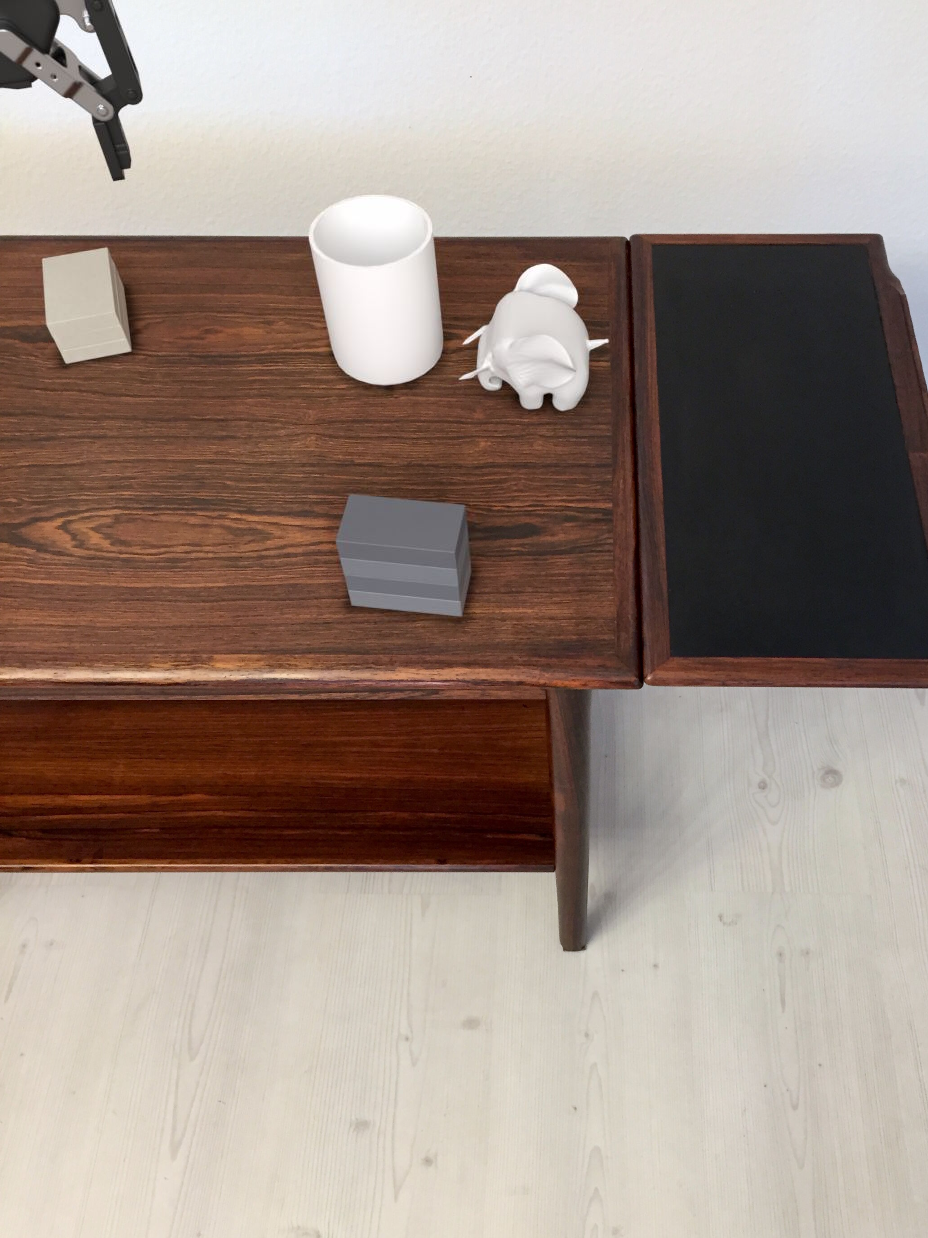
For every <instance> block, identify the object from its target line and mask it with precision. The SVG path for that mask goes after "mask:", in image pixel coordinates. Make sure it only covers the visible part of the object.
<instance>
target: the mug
mask: <svg viewBox="0 0 928 1238" xmlns="http://www.w3.org/2000/svg"><path fill="white" fill-rule="evenodd" d="M433 229H434V228H433V223H432V219H431V218H430V216H429V214H428V213H427V212H426V210H424V209H423V208H422V207H420V205H418V204H416V203H415V202H412V201H410V200H409V199H407V198H403V197H399V196H395V195H389V194H377V193H376V194H375V193H374V194H362V195H356V196H352V197H349V198H348V197H347V198H345V199H342V200H340V201H338V202H335V203H332V204H330V205H329V206H327V207H326V208H325V209H324V210H321V211H320V213H319V214H318V215H317V216H316V217H315V218H314V219H313V220H312V223H311V225H310V227H309V229H308V243H309V247H310V250H311V256H312V260H313V265H314V270H315V276H316V280H317V284H318V289H319V294H320V299H321V304H322V309H323V314H324V318H325V322H326V328H327V332H328V337H329V342H330V346H331V350H332V353H333V356H334V358H335V360H336V363H337V365H338V367H339V368H340V369H341V370H342V371H343V372H344V373H345V374H346V375H349V377H351V378H353V379H355V380H357V381H360V382H364V383H366V384H371V385H376V386H394V385H395V386H396V385H402V384H404V383H409V382H411V381H415V380H416V379H418V378H419V377H422V376H423V375H425V374H426V373H427V372H429V371H430V370H432V368H433V367H435V366H436V365H437V363H438V361H439V360H440V359H441V355H442V353H443V349H444V333H443V322H442V321H443V319H442V312H441V311H442V310H441V301H440V291H439V281H438V270H437V261H436V249H435V241H434V240H435V239H434V231H433Z"/></svg>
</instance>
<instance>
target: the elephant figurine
mask: <svg viewBox="0 0 928 1238" xmlns="http://www.w3.org/2000/svg"><path fill="white" fill-rule="evenodd" d="M578 301H579V295H578V291H577V289H576V286H575V285H574V283H573V282H572V280H571V279H570V278H569V277H568V275H567V274H566V273H565V272H563V271H562V270H561V269H559V268H558V267H556V266H554V265H552V264H549V263H539V264H536V265H533V266H531V267H529V268H527V269H526V270H525V271H524V272H522V274H521V275H520V277H519V278H518V279H517V283H516V284H515V287H514V289H513V291H510V292H508V293H506V294H505V295H504V296H503V297H502V298H501V299H500V300H499V301H498V303H497V305H496V307H495V310H494V313H493V316H492V318H491V320H490V321H489V323H488V324H486V325H485V324H484V325H483V326H481V327H480V328H479V329H478V330H477V331H476V332H474V333H473V334H471V335H470V336H469V337H467V338H466V339H465V340H464V342H463V343H462V344H461V345H468V344H469V343H471V342H472V341H474V340H476V339H477V338H478V337H479V340H478V343H477V344H478V345H477V347H478V348H477V354H476V355H477V357H476V369H475V370H473V371H471V372H468V373H466V374H463V375H462V376H461V377H459V378H458V381H459V380H460V381H461V380H466V379H467V380H468V379H472V378H474V377H475V376H477V380H478V381H479V383H480V385H481V386H482V388H484V389H485V390H486V391H498V390H500V389H501V388H502V386H503V381H504V382H506V383H507V384H509V385H510V386H511V387H512V388H513V390H514V391H516V393H517V394H518V396H519V402H520V405H521V406H522V408H524V409H527V410H536V409H537V410H538V409H541V407H542V406H543V403H544V395H546V394H552V400H551V402H552V405H553V407H554V408H555V409H556V410H558V411H561V412H565V411H569V410H572V409H574V408H576V407H577V405H578V403H579V402H580V401H581V399H582V397H583V396H584V395H585V392H586V389H587V387H588V383H589V378H590V351H591V350H594V349H596V348H598V347H601V346H602V345H604V344H608V343H609V342H610V340H609V338H605V339H601V338H599V339H590V337H589V332H588V329H587V327H586V324H585V322H584V321H583V320H582V318H581V317H580V315H579V314H578V313H577V312H576V311H575V309H574V308H575V307H576V306H577V303H578Z"/></svg>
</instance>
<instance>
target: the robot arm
mask: <svg viewBox="0 0 928 1238" xmlns="http://www.w3.org/2000/svg"><path fill="white" fill-rule="evenodd" d="M61 16H68V17H70V18H71V19H73V20H74V22H75V23H76V24H77V25H78V27H79V29H81V31H83V32H85V33H89V34H94V33H95V34H96V37H97V39H98V42H99V45H100V47H101V50H102V52H103V55H104V57H105V59H106V60H105V61H106V62H107V65H108V67H109V70H110V72H111V74H109V75H107V76H104V78H102V77H100V76H99V75H98V74H97V73H95V72H94V71H93V70H92V69H90V68H89V67H88V66H87V65H85V64H84V63H83V62H82V61H80V59H79V58H78V56H77V55H76V54H75V52H73V51H72V50H71V49H70V48H69V47H68V46H66V45H65V44H64V43H63V42H62V41H60V40H59V39H58V38H56V36H57V35H56V34H57V31H58V28H59V25H60V22H61ZM38 80H40V81H41V82H43V83H44V84H45V85H46V86H48V87H49V88H50V89H51V90H53V91H54V92H56V93H57V94H58V95H59V96H60V97H62V98H64V99H70V100H71V101H73V102H74V103H75V104H77V105H78V106H79V107H80V108H81V109H83V110H85V112H87V113H88V114H89V115H90V116H91V123H92V126H93V129H94V132H95V134H96V138H97V140H98V143H99V146H100V150H101V151H102V154H103V158H104V161H105V163H106V165H107V168H108V171H109V174H110V177H111V180H112V182H118V181H124V180H126V175H125V170H129V169H131V168H132V156H131V150H130V145H129V143H128V140H127V137H126V134H125V130H124V127H123V125H122V122H121V119H120V115H119V113H120V111H121V110H122V109H123V108H125V107H127V106H129V105H130V106H137V105H139V104H140V103H142V101H143V99H144V93H143V88H142V84H141V78H140V72H139V69H138V66H137V64H136V62H135V59H134V56H133V53H132V51H131V48H130V46H129V43H128V40H127V37H126V35H125V32H124V30H123V28H122V24H121V21H120V19H119V16H118V13H117V10H116V8H115V5H114V3H113V0H0V89H8V90H24V89H30V88H33V83H35V82H36V81H38Z"/></svg>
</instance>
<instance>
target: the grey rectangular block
mask: <svg viewBox="0 0 928 1238" xmlns="http://www.w3.org/2000/svg"><path fill="white" fill-rule="evenodd" d="M346 501H347V502H346V503H345V504H346V505H345V507H344V511H343V514H342V517H341V521H340V524H339V527H338V530H337V533H336V537H335V545H336V549H337V552H338V557H339V562H340V565H341V569H342V573H343V576H344V580H345V584H346V589H347V592H348V597H349V600H350V604H351V606H352V607H353V606H355V607H363V608H372V609H382V610H393V611H403V612H411V613H413V612H414V613H422V614H431V615H441V616H442V615H443V616H452V617H463V614H464V608H465V604H466V599H467V595H468V590H469V584H470V580H471V576H472V560H471V552H470V542H469V531H468V530H469V529H468V519H467V518H468V517H467V508H466V505H465V504H459V503H447V502H440V501H439V502H437V501H429V500H419V499H418V500H416V499H406V498H394V497H387V496H386V497H384V496H375V495H364V494H353V493H349V495H348V498H347V500H346Z"/></svg>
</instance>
